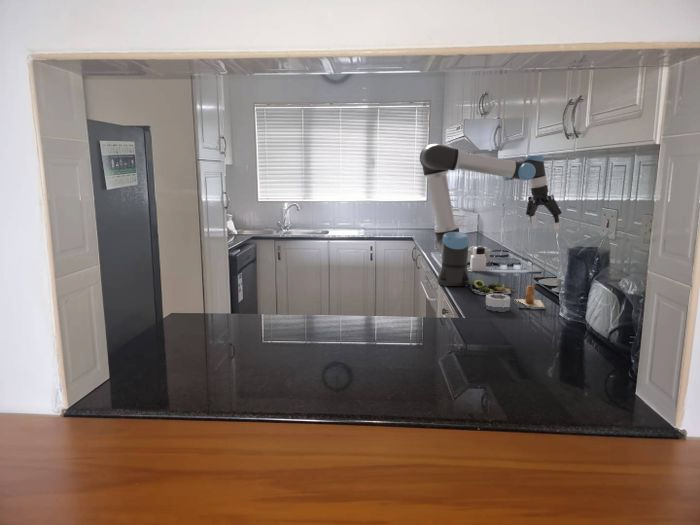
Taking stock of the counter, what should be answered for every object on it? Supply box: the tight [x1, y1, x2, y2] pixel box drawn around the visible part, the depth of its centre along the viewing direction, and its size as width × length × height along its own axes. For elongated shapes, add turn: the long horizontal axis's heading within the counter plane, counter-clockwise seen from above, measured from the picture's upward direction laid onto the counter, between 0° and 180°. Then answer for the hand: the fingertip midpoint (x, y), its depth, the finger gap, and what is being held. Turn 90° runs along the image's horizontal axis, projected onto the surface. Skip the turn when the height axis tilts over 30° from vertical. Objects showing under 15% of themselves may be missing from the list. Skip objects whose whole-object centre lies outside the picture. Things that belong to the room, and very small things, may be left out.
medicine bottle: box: [469, 246, 487, 272], centre depth 264 cm, size 7×7×12 cm
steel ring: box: [485, 293, 511, 308], centre depth 196 cm, size 9×9×5 cm
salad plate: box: [469, 278, 516, 295], centre depth 222 cm, size 19×18×5 cm
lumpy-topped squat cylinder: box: [468, 245, 492, 264], centre depth 285 cm, size 10×13×9 cm
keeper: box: [514, 284, 546, 309], centre depth 200 cm, size 10×10×8 cm
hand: (545, 229), depth 245 cm, fingers open, 13 cm apart
